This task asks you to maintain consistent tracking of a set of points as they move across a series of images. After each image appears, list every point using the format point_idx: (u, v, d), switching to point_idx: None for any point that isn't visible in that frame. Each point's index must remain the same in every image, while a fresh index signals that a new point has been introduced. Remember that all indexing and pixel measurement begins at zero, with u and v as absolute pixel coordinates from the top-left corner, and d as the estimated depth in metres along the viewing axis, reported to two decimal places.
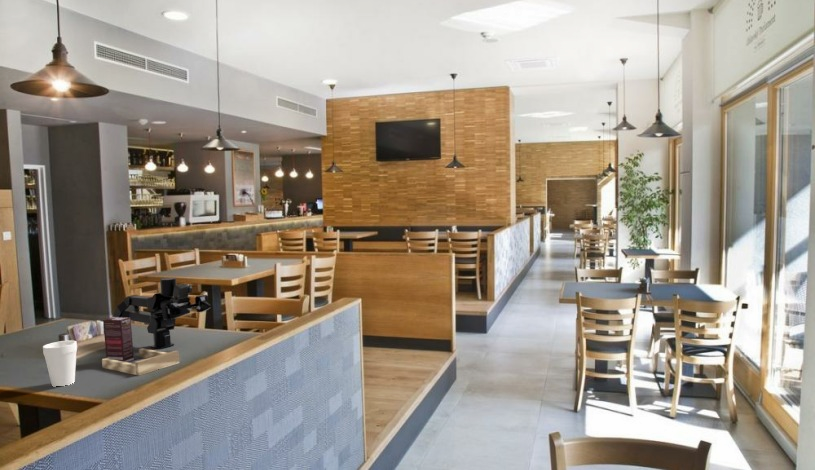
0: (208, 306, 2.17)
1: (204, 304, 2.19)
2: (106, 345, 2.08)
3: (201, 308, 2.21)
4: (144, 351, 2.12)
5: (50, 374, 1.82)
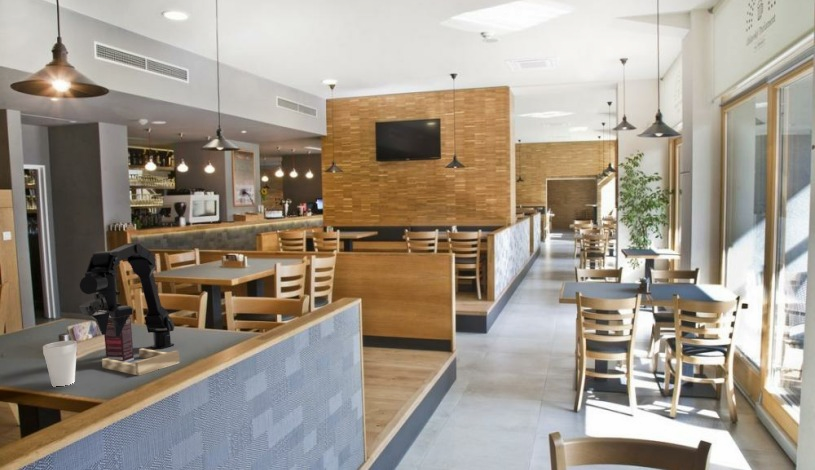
0: None
1: None
2: (106, 345, 2.08)
3: None
4: (144, 351, 2.12)
5: (50, 374, 1.82)
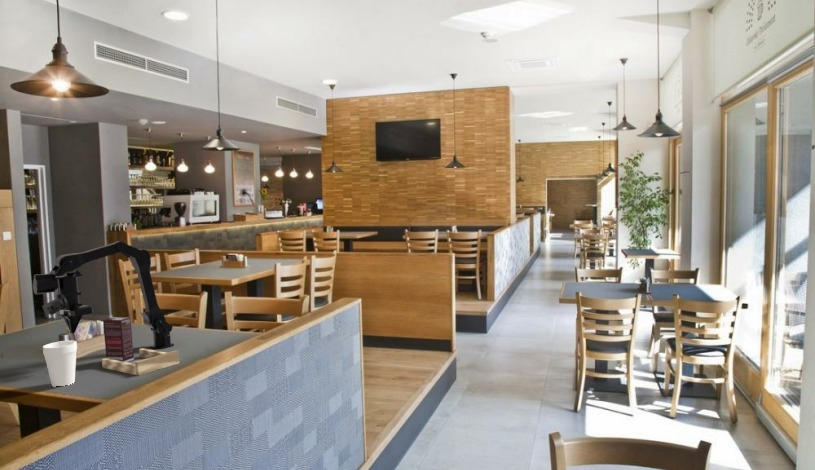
0: None
1: None
2: (106, 345, 2.08)
3: None
4: (144, 351, 2.12)
5: (50, 374, 1.82)
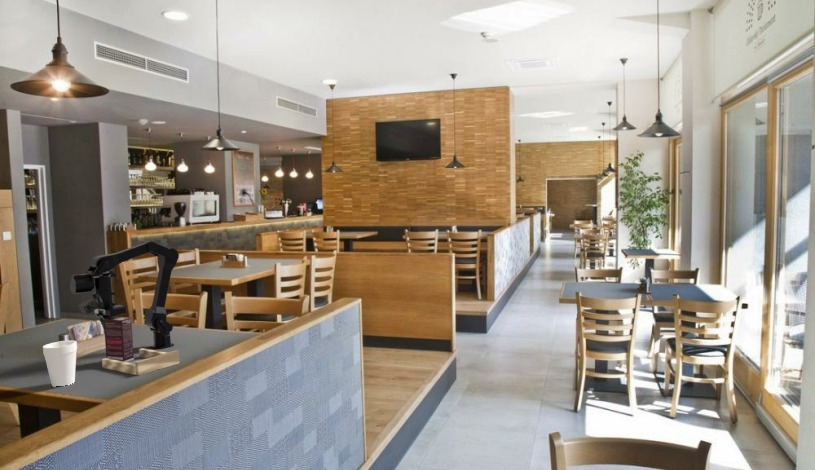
0: None
1: None
2: (106, 345, 2.08)
3: None
4: (144, 351, 2.12)
5: (50, 374, 1.82)
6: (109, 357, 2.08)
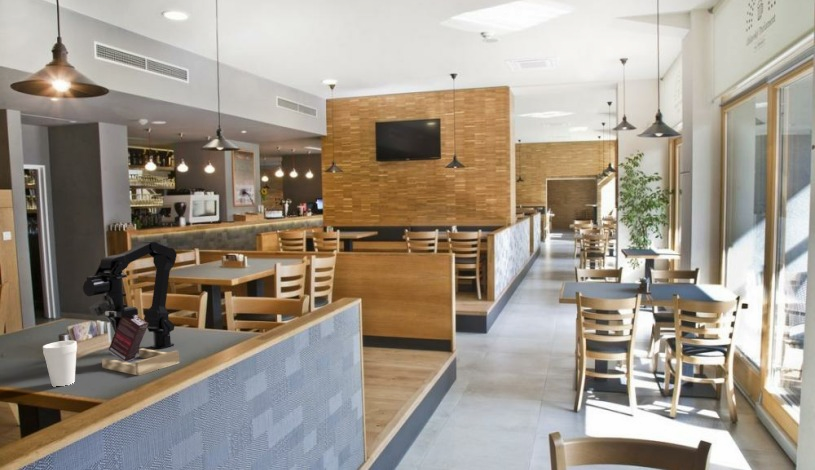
0: None
1: None
2: (114, 337, 2.06)
3: None
4: (144, 351, 2.12)
5: (50, 374, 1.82)
6: (112, 349, 2.07)
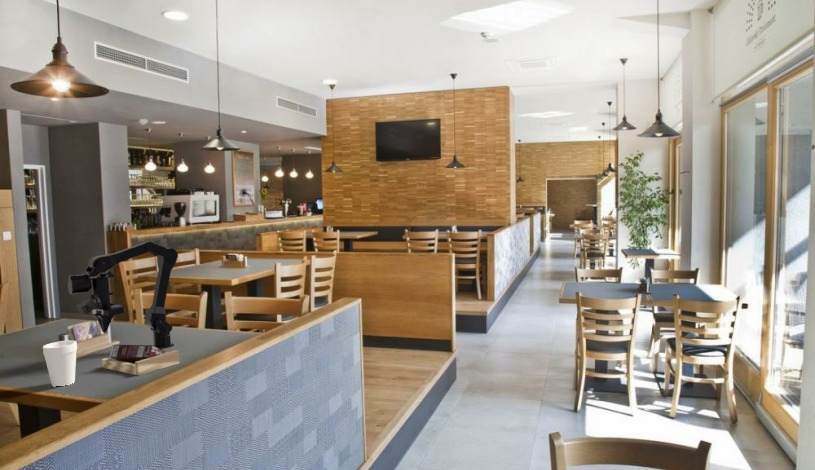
0: None
1: None
2: (125, 358, 1.98)
3: None
4: None
5: (50, 374, 1.82)
6: (116, 358, 1.99)
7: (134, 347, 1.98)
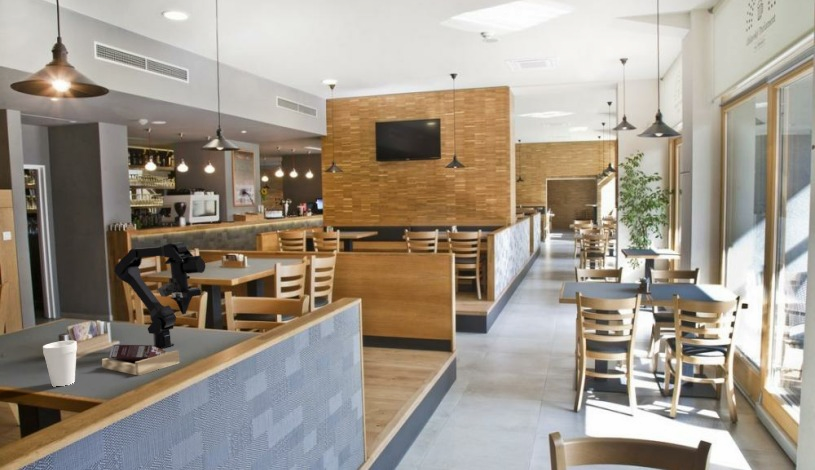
0: None
1: None
2: (125, 358, 1.98)
3: None
4: None
5: (50, 374, 1.82)
6: (116, 358, 1.99)
7: (134, 347, 1.98)
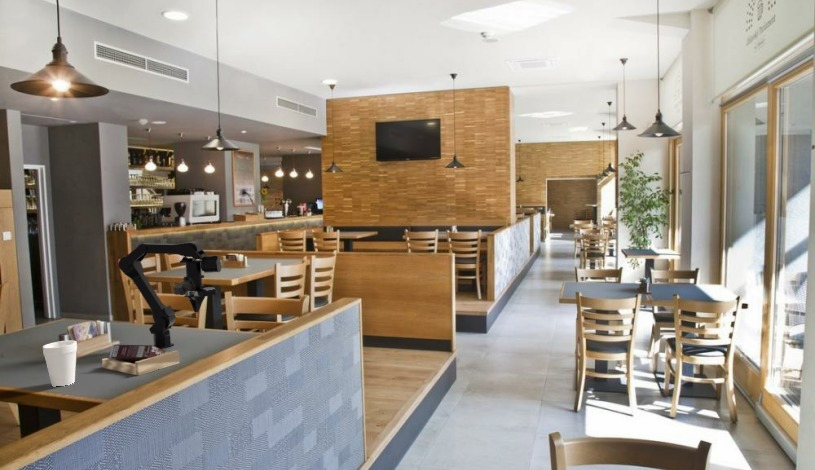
0: None
1: None
2: (125, 358, 1.98)
3: None
4: None
5: (50, 374, 1.82)
6: (116, 358, 1.99)
7: (134, 347, 1.98)
